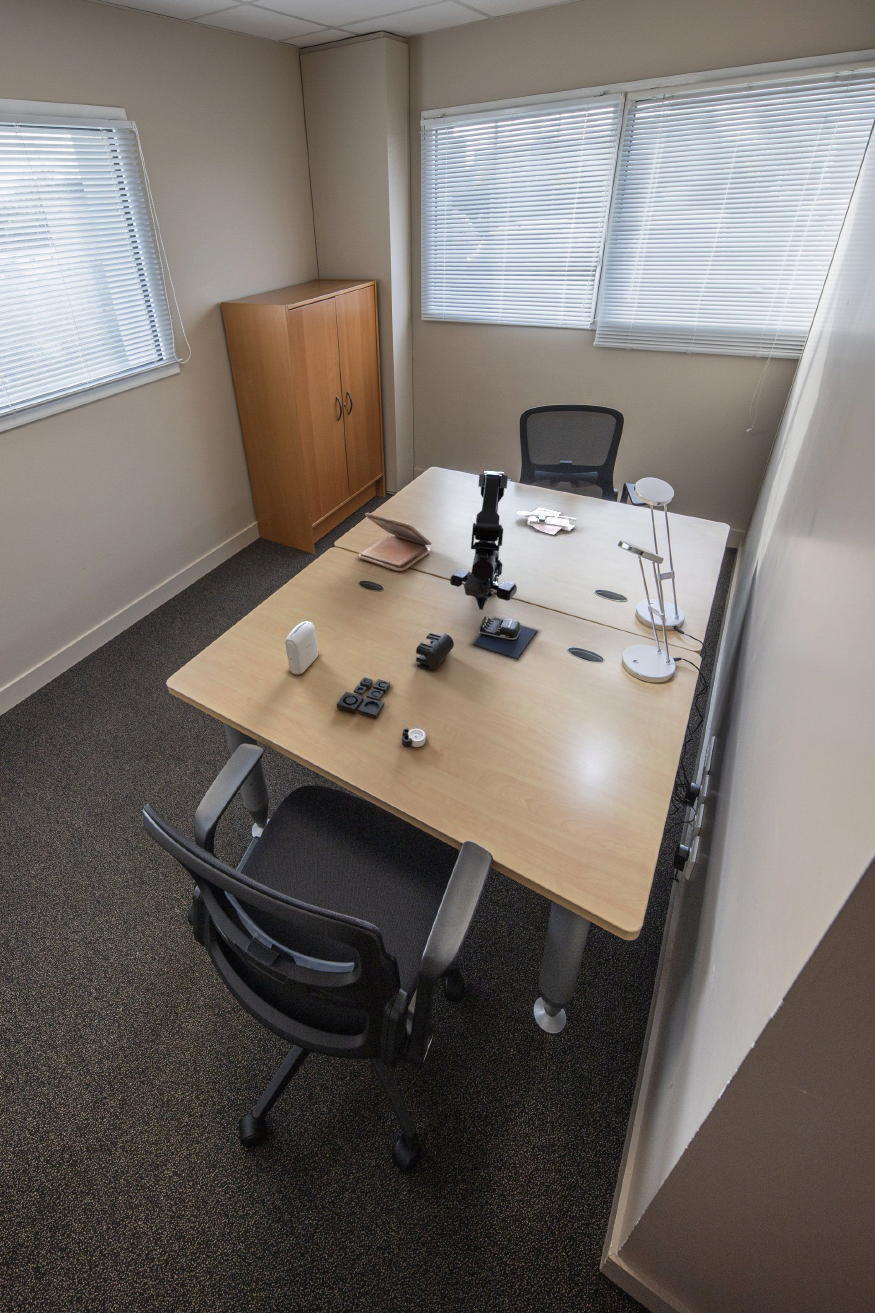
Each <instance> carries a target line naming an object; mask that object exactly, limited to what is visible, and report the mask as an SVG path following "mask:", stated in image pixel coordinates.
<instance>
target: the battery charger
mask: <svg viewBox="0 0 875 1313" xmlns="http://www.w3.org/2000/svg"><path fill="white" fill-rule="evenodd" d="M503 620H504V621H495V620H494V619H492V618H490V617H489V616H485V615H484V616H483V618H482V621H481V623H480V625H479V631H478V634H479V636H480V635H485V636H490V637H495V638H499V639H504V640H509V641H514V640H516V639H517V637H518V635H519V632H520V625H521V623H520V621H519V620H516V619H512V618H508V617H504V619H503Z"/></svg>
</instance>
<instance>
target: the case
mask: <svg viewBox="0 0 875 1313" xmlns="http://www.w3.org/2000/svg"><path fill="white" fill-rule="evenodd" d="M364 515H365V516H366V518H367V519H368V520H369V521H370V522H372V523H374V524H375V525H376V526H378V527H380V528H381V529H382V530H384V531H385V532H386V533H388V534H390V535H388V536H385V537H382V538H381V539H380V540H378V541H376V542H375V543H373V544H372V545H370V546H368V547H367V548H366V549H364V550H362V551H361V552H359V553H358V558H359V559H361V560H363V561H366V562H369V563H371V564H375V565H378V566H380V567H383V568H387V569H389V570H392V571H395V572H404V571H407V570H408V569H409V568H410V567H412V566H413V565H414V564H416V563H417V562H419V561H420V560H421V559H422V558H423V559H424V557H426V556H427V555H429V554H430V552H431V549H430V547H429V546H432V544H433V543H432V541H431V540H430V539H428V538H427V537H426V536H425V535H424V534H422V532H420V531H419V530H418V529H417V528H415V526H413V525H412V524H410V523H406V522H403V521H400V520H396V519H393V518H390V517H385V516H381V515H378V514H374V513H370V512H366V513H365V514H364Z"/></svg>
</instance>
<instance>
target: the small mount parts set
mask: <svg viewBox="0 0 875 1313" xmlns="http://www.w3.org/2000/svg"><path fill="white" fill-rule="evenodd" d="M372 685H373V686H372ZM390 687H391V681H387V680H383V679H380V678H378V679H377V680H376V681H375V683H374V679H373V678H369V677H365V676H363V677H362V679H361V680H360V681H359V684H358V685H356V687H355V688H354V689H353V693H352V692H349V691H345V693H344V694H343V695H342V696H341V697H340V699H339V700H338V701H337V703H336V709H338V710H341V711H344V712H348V713H350V714H354V715H355V714H356V713H358V714H361V715H364V716H368V717H371V718H375V719H376V718H377V717H378V716H379V714H380V713H381V712H382V710H383V708H384V707H385V702H383V701H380V699H381V698H382V697H383V695H384V694H386V693H387V692H388V690H389V689H390ZM367 690H369V691H368V692H367V694H366V695H365V697H364V694H365V693H366V691H367ZM364 698H365V699H364ZM401 733H402V734H401V736H402V737H401V745H402V746H403V747H405V748H410V747H414V748H419V747H420V748H421V747H422V746H424V744H425V743H426V732H425V731H424V730H423V729H421V728H412V729H409V728H403V729H402V732H401Z"/></svg>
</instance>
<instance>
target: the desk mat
mask: <svg viewBox="0 0 875 1313" xmlns="http://www.w3.org/2000/svg"><path fill="white" fill-rule="evenodd" d="M493 620H495V621H504V619H500V618H497V617H494V618H493ZM537 633H538V629H535V628H531V627H527V626H524V625H521V624H520V632H519V635H518V637H517V639H516V640H514V641H509V640H504V639H499V638H495V637H490V636H485V635H480V634H479V636H477V638H476V639H475V641H473V643H472V646H474V647H477V648H480V649H484V650H487V651H490V652H493V653H496V654H500V655H502V656H505V657H510V658H512V659H514V660H518V659H519V657H520V656H521V655H522V653H523V652H524V650H525V649H527V646H528V645H529V644H530V642H531V641H532V639H533V638H534V636H535V635H536V634H537Z"/></svg>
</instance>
